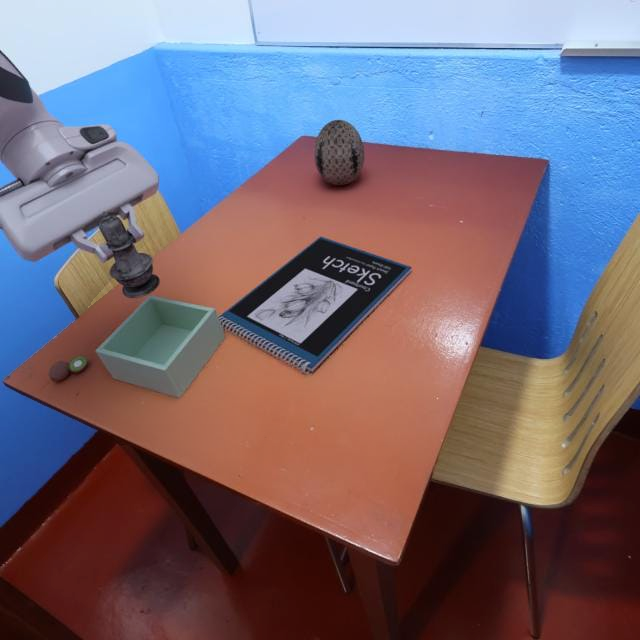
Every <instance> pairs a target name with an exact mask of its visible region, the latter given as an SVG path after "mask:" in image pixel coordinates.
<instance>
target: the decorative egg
mask: <svg viewBox="0 0 640 640" xmlns="http://www.w3.org/2000/svg"><path fill="white" fill-rule="evenodd" d="M313 157H314V164H315V167H316V169H317V172H318V173H319V175H320V176H321V178H322V179H323V180H325V181H326V182H327V183H330V184H331V185H333V186H344V185H348V184H350V183H352V182H353V181H354V180H356V179H357V178H358V176H359V175H360V173H361V171H362V170H363V167H364V163H365V147H364V143H363V140H362V137H361V135H360V133H359V131H358V130H357V129H356V128H355V127H354V126H353V124H351V123H350V122H349V121H346V120H343V119H334V120H330V121H329V122H328V123H326V124H325V125H324V126H323V127H322V128H321V130H320V131H319V132H318V134H317V136H316V140H315V144H314V156H313Z"/></svg>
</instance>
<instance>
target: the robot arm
mask: <svg viewBox="0 0 640 640" xmlns="http://www.w3.org/2000/svg"><path fill="white" fill-rule="evenodd" d="M0 162H1V164H2V165H3V166H4V168H6V169H7V170H8V172H10V173H11V175H12V176H13V177H14V178H15V179H14V180H12V181H11V182H8V183H6V184H4V185H3V186H1V187H0V230H1V231H2V233H3V234H4V236H5V238H6V239H7V242H9V244H10V245H11V247H12V248H13V250H14V251H15V252H16V253H17V254H18V256H20V258H21V259H22V260H24V261H27V262H32V263H36V262H38V261H40V260H41V259H43V258H45V257H47V256H49V255H51V254H52V253H54V252H56V251H57V250H60V249H61V248H63V247H64V246H66V245H68V244H70V243H73V245H74V246H75V247H76V249H80V250H82V251H85V252H88V253H90V254H94V255H95V256H96V258H98V259H99V261H100V262H101V263H103V264H105V263H106V262H108V261H109V260H111V259H112V258H114V257H113V255H114V253H113V252H112V250H111V249H109V248H108V246H107V244H106V243H107V242H106V241H105V242H102V243H100V244H98V243H95V242H93V241H91V240H88V239H87V237H88V236H87V235H88V234H87V233H89V232H91V231H92V230H94V229H96V228H99V222H100V220H101V219H102V218H104V216H103V211H105V212H106V213H108V215H109V216H117V217H119V218H120V219H121V220H122V221H126V220H127V223H128V227H127V228H126V231H127V233H128V235H131V236H132V237H133V244H134V245H136V244H137V243H138V242H140V241H142V240H143V239H144V238H145V233H144V231H143V230H142V228H140V226H139V225H138V221H137V217H136V216H137V215H136V210H135V208H134V207H135V206H137V205H140V203H142V202H144V201H146V200H147V199H150V198H151V197H153V196H155V195H156V194H157V192H158V189H159V186H160V176H159V175H160V174H159V173H158V172H157V171H156V169H155V168H154V167H153V166H152V165H151V163H150V162H148V160H147V159H146V158H145V157H144V156H143V155H142V154H141V153H140V152H139V151H138V150H137V149H136V148H135V147H133V146H132V145H131V144H129V143H127V142H124V141H121V140H118V135H117V132H116V131H115V129H114V128H113V127H112V126H111V125H109V124H107V123H102V124H101V123H100V124H92V125H83V126H81V125H80V126H65V125H64V124H63V123H62V122H61V121H60V120H59V119H57V118H56V117H54V116H53V115H52V114H51V113H50V112H49V111H48V110H47V108H46V106H45V104H44V102H43V100H42V99H41V97H40V96H39V95H38V94H37V92H36V91H35V90H34V89H33V88H32V87H31V86H30V82H29V79H27V78H26V76H25V75H24V74H23V73H22V72H21V71H20V69H19V68H18V67H17V66H16V65H15V64H14V62H13V61H12V60H11V59H10V58H9V57H8V56H7V55H6V54H5V53H4V52H3V51H2V50H1V49H0Z"/></svg>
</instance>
